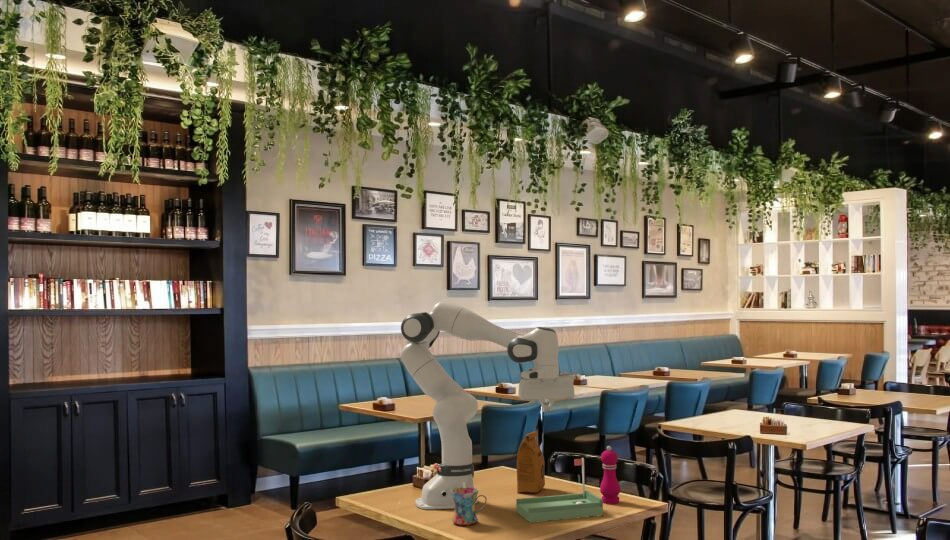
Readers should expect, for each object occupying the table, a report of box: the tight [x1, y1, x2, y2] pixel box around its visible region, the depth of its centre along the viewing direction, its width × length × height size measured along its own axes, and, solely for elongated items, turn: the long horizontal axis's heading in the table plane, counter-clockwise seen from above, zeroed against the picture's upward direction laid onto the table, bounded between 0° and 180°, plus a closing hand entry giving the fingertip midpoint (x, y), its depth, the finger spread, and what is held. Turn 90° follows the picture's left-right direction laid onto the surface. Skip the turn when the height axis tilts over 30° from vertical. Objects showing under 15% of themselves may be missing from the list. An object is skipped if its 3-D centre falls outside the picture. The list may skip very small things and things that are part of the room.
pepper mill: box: [599, 445, 621, 505], centre depth 293 cm, size 7×7×20 cm
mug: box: [450, 487, 487, 526], centre depth 269 cm, size 12×9×11 cm
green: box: [516, 457, 604, 523], centre depth 278 cm, size 26×14×17 cm, turn 105°
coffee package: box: [516, 430, 546, 494], centre depth 313 cm, size 10×12×22 cm
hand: (546, 411), depth 291 cm, fingers closed
